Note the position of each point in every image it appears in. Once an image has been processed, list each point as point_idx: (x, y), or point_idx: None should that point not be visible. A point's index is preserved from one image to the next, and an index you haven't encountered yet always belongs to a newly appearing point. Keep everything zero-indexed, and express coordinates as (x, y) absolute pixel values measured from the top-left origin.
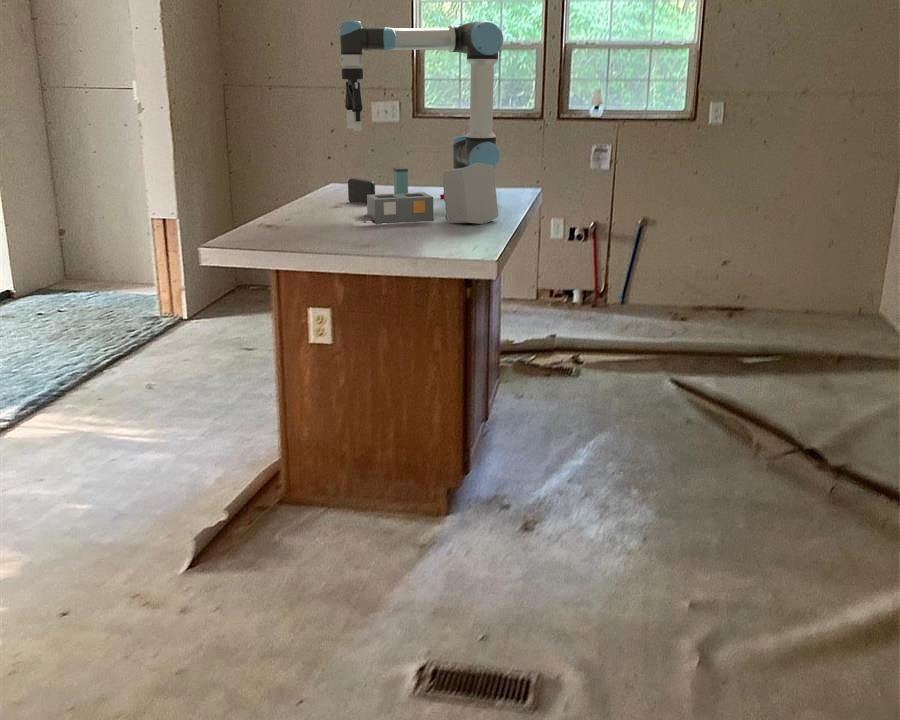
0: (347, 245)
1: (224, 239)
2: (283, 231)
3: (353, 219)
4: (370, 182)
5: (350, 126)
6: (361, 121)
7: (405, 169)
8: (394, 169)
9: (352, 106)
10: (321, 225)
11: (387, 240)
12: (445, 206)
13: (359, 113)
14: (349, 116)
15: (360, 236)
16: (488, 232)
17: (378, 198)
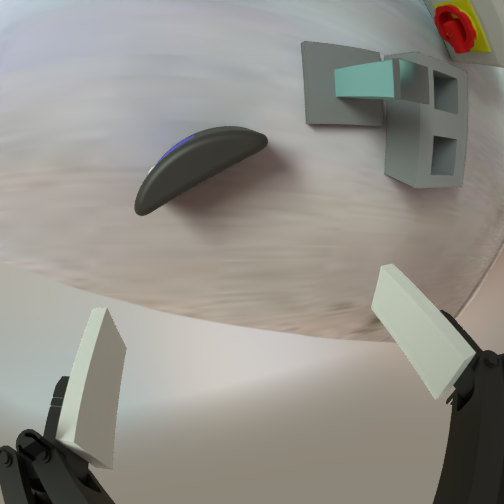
0: (492, 230)
1: None
2: None
3: (384, 201)
4: (259, 147)
5: (115, 343)
6: (430, 303)
7: (427, 75)
8: (409, 100)
9: (80, 482)
10: (406, 256)
11: (496, 186)
12: (468, 62)
13: (476, 350)
14: (106, 411)
15: (475, 211)
16: None
17: (455, 176)
